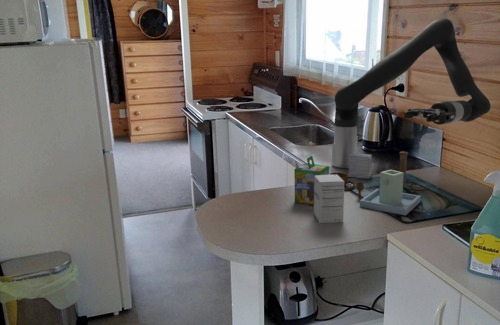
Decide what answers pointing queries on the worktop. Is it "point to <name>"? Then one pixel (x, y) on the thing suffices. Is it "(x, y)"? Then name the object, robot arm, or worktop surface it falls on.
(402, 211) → the tray
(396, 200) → the green square vase
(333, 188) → the supplement box
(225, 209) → the worktop surface
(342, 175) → the place setting
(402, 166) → the post
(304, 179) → the chalk box
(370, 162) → the medicine box
